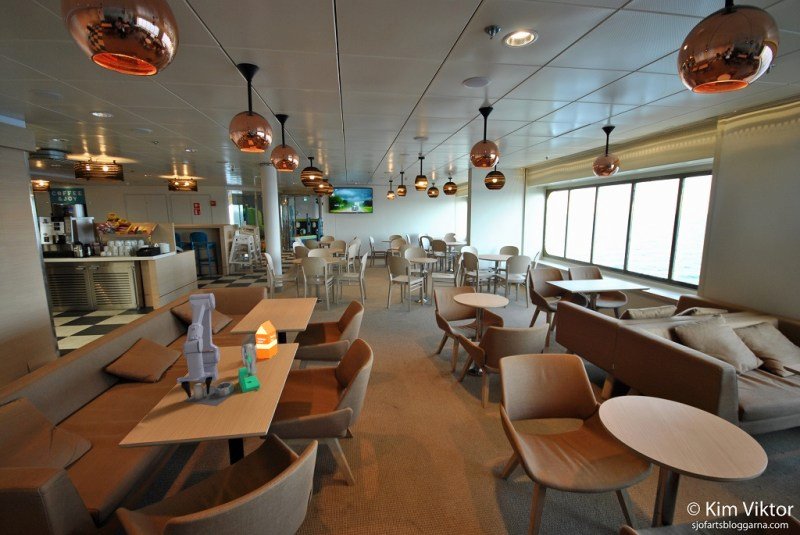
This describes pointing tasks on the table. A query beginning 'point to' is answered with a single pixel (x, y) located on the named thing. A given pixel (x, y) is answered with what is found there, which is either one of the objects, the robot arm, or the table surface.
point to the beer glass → (249, 358)
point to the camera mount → (247, 381)
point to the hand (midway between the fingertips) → (199, 395)
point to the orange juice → (266, 340)
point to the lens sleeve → (224, 389)
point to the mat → (210, 397)
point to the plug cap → (198, 391)
